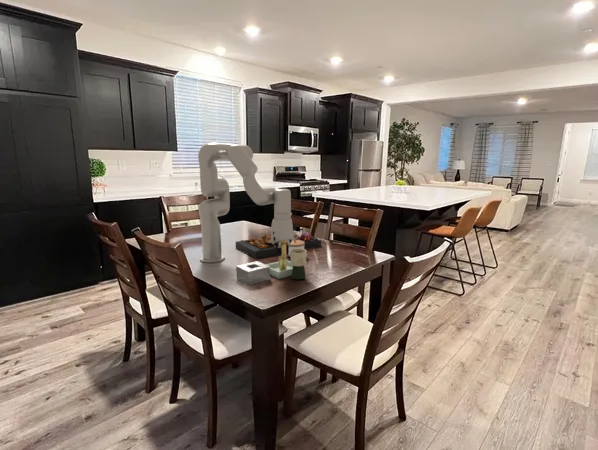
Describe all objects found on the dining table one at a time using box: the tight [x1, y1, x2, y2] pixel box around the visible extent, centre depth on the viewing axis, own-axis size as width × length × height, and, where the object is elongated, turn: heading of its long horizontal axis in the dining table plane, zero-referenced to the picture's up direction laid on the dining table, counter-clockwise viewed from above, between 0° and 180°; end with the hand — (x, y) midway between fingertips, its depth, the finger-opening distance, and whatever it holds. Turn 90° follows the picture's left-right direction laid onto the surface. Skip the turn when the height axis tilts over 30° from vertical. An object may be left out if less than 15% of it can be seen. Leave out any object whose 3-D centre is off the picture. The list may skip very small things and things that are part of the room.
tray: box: [265, 259, 293, 280], centre depth 162 cm, size 13×14×3 cm
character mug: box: [290, 249, 308, 280], centre depth 153 cm, size 11×7×13 cm, turn 26°
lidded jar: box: [287, 239, 305, 258], centre depth 187 cm, size 11×11×9 cm
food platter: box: [235, 230, 322, 259], centre depth 205 cm, size 45×25×10 cm, turn 125°
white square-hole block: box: [235, 260, 271, 286], centre depth 152 cm, size 10×11×6 cm
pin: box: [278, 240, 288, 270], centre depth 161 cm, size 5×5×14 cm
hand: (282, 254), depth 161 cm, fingers closed on pin, 3 cm apart
